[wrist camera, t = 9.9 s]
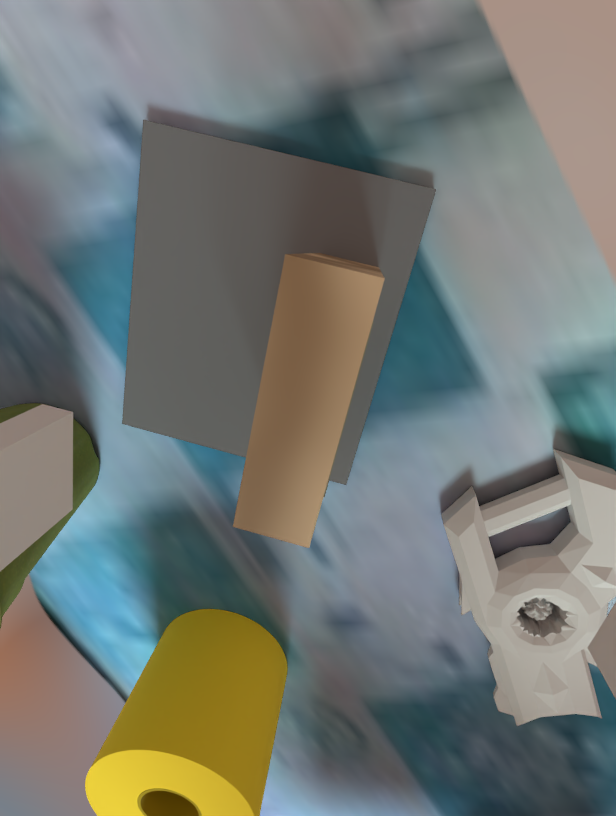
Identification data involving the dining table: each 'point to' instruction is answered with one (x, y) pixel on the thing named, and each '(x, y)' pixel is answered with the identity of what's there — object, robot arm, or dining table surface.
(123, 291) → the dining table surface
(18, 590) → the plant pot
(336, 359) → the rectangular block
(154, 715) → the yellow paper roll
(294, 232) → the mat
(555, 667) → the light grey toy spaceship
